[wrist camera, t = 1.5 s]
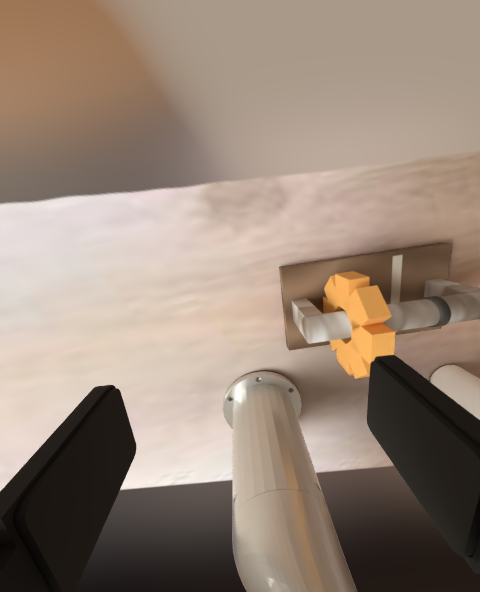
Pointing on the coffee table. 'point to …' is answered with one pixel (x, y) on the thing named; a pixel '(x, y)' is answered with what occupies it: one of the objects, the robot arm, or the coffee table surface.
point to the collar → (359, 321)
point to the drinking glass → (459, 387)
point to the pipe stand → (392, 284)
